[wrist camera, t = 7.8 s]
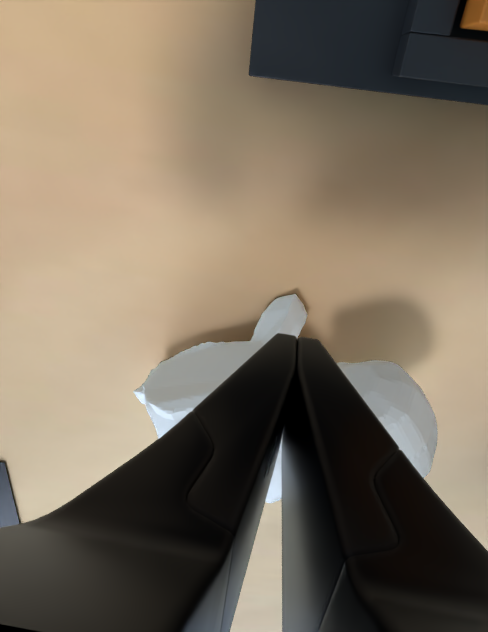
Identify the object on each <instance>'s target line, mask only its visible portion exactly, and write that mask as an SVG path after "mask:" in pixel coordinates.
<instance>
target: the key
mask: <svg viewBox="0 0 488 632" xmlns="http://www.w3.org/2000/svg"><path fill="white" fill-rule="evenodd" d="M460 28H461V29H470V30H479V31H488V0H467V2H466V5H465V9H464V12H463V15H462V19H461V22H460Z"/></svg>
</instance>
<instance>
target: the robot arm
mask: <svg viewBox="0 0 488 632" xmlns="http://www.w3.org/2000/svg"><path fill="white" fill-rule="evenodd" d="M282 434H283V435H282ZM281 439H282V451H281V470H282V632H488V551H487V550H486V549H485V548H484V547H483V546H482V545H481V543H480V542H479V541H478V540H477V539H476V538H475V537H474V536H473V535H472V534H471V533H470V531H469V530H468V529H467V528H466V527H465V526H464V525H463V524H462V523H461V522H460V521H459V519H458V518H457V517H456V516H455V515H454V514H453V513H452V511H451V510H450V509H449V508H448V507H447V506H446V505H445V503H444V502H443V501H442V500H441V499H440V498H439V497H438V496H437V494H436V493H435V492H434V491H433V490H432V488H431V487H430V486H429V485H428V483H427V482H426V481H425V480H424V478H423V477H422V476H421V475H420V473H419V472H418V471H417V470H416V468H415V467H414V466H413V465H412V463H411V462H410V461H409V459H408V458H407V457H406V455H405V454H404V453H403V451H402V450H399V446H398V445H397V444H396V442H395V441H394V440H393V438H392V437H391V436H390V434H389V433H388V432H387V430H386V429H385V428H384V426H383V425H382V424H381V422H380V421H379V420H378V418H377V417H376V416H375V414H374V413H373V412H372V410H371V409H370V408H369V406H368V405H367V404H366V402H365V401H364V400H363V398H362V397H361V396H360V394H359V393H358V392H357V390H356V389H355V388H354V386H353V385H352V384H351V382H350V381H349V380H348V378H347V377H346V376H345V374H344V373H343V372H342V370H341V369H340V368H339V366H338V365H337V364H336V362H335V361H334V360H333V358H332V357H331V356H330V354H329V353H328V352H327V350H326V349H325V348H324V346H323V345H322V344H321V342H320V341H319V340H317V339H312V338H306V337H299V338H298V339H297V337H296V336H294V335H288V334H282V333H277V334H276V335H275V336H273V337H272V338H271V339H270V340H269V341H268V342H267V343H266V344H265V345H264V346H262V347H261V348H260V349H259V350H258V351H257V352H256V353H255V354H254V355H252V356H251V357H250V358H249V359H248V360H247V361H246V362H245V363H244V364H243V365H241V366H240V367H239V368H238V369H237V370H236V371H235V372H234V373H233V374H232V375H230V376H229V377H228V378H227V379H226V380H225V381H224V382H223V383H222V384H220V385H219V386H218V387H217V388H216V389H215V390H214V391H213V392H212V393H211V394H209V395H208V396H207V397H206V398H205V399H204V400H203V401H202V402H201V403H199V404H198V405H197V406H196V407H195V408H194V409H193V411H191V412H189V413H188V414H187V415H186V416H185V417H184V418H183V419H182V420H181V421H179V422H178V423H177V424H176V425H175V426H174V427H172V428H171V429H170V430H169V431H168V432H166V433H165V434H164V435H163V436H162V437H160V438H159V439H158V440H156V441H155V442H154V443H152V444H151V445H150V446H148V447H147V448H146V449H144V450H143V451H142V452H140V453H139V454H137V455H136V456H135V457H133V458H132V459H130V460H129V461H128V462H126V463H125V464H123V465H122V466H120V467H119V468H117V469H116V470H115V471H113V472H112V473H110V474H109V475H107V476H106V477H104V478H103V479H102V480H100V481H99V482H97V483H96V484H94V485H93V486H91V487H90V488H89V489H87V490H86V491H84V492H83V493H81V494H80V495H78V496H77V497H76V498H74V499H73V500H71V501H70V502H68V503H66V504H65V505H63V506H62V507H60V508H58V509H56V510H55V511H53V512H51V513H49V514H47V515H45V516H42V517H40V518H38V519H35V520H32V521H29V522H26V523H22V524H18V525H12V526H6V527H0V632H230V628H231V624H232V621H233V617H234V614H235V610H236V606H237V603H238V599H239V595H240V592H241V588H242V584H243V581H244V577H245V573H246V570H247V566H248V562H249V559H250V555H251V551H252V548H253V544H254V540H255V537H256V533H257V529H258V526H259V522H260V518H261V515H262V511H263V508H264V504H265V500H266V497H267V493H268V489H269V486H270V482H271V478H272V475H273V471H274V467H275V464H276V460H277V456H278V452H279V448H280V444H281Z"/></svg>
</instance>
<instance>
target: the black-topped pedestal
mask: <svg viewBox="0 0 488 632" xmlns="http://www.w3.org/2000/svg"><path fill="white" fill-rule="evenodd" d="M18 524H19V520H18V516H17V512H16V507H15V503H14V499H13V495H12V491H11V487H10V483H9V479H8V475H7V471H6V467H5V463H2V462H0V527H6V526H12V525H18Z"/></svg>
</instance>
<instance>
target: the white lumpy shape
mask: <svg viewBox="0 0 488 632" xmlns="http://www.w3.org/2000/svg"><path fill="white" fill-rule="evenodd" d="M307 315H308V314H307V312H306V311H305V308H304V305H303V303H302V302H301V301H300V299H299V298H298V296H297V295H296V294H292V295H287V296H283V297H279V298H276V299H275V300H274V301H273V302H272V303H271V304H270V305H269V306H268V307H267V309H266V310H265V311H264V312H263V313H262V314H261V318H260V320H259V321H258V323H257V326H256V328H255V330H254V335H253V337H252V339H251V340H250V341H241V342H237V341H234V342H228V343H225V342H223V341H222V342H219V343H214V342H209V341H208V342H206V343H205V344H204V343H201V344H199V345H198V346H193V347H191V348H190V349H185V351H181V352H180V353H179V354H177V355H174V357H170V359H169V360H165V361H161V362H160V364H159V365H158V366H157V367H156V368H155V369H152V370H151V371H150V374H149V375H148V378H147V379H146V381H145V382H144V383H143V384H142V386H140V387H139V388H137V389H136V390H135V391H133V392H134V393H135V395H136V396H137V398H138V399H139V401H140V402H141V403H142V404H146V409H147V412H148V414H149V415H150V417H151V420H152V421H153V424H154V426H155V428H156V431H157V435H158V439H159V438H160V437H162V436H163V435H164V434H165V433H166V432H168V431H169V430H170V429H171V428H172V427H174V426H175V425H176V424H177V423H178V422H179V421H181V420H182V419H183V418H184V417H185V416H186V415H187V414H188V413H189V412H191V411H193V409H194V408H195V407H196V406H197V405H198V404H199V403H201V402H202V401H203V400H204V399H205V398H206V397H207V396H208V395H209V394H211V393H212V392H213V391H214V390H215V389H216V388H217V387H218V386H219V385H220V384H222V383H223V382H224V381H225V380H226V379H227V378H228V377H229V376H230V375H232V374H233V373H234V372H235V371H236V370H237V369H238V368H239V367H240V366H241V365H243V364H244V363H245V362H246V361H247V360H248V359H249V358H250V357H251V356H252V355H254V354H255V353H256V352H257V351H258V350H259V349H260V348H261V347H262V346H264V345H265V344H266V343H267V342H268V341H269V340H270V339H271V338H272V337H273V336H275V335H276V334H277V333H282V334H288V335H294V336H296V337H297V338H298V335H299V334H300V331H301V329H302V327H303V325H304V324H305V322H306V318H307ZM336 364H337V365H338V366H339V368H340V369H341V370H342V372H343V373H344V374H345V376H346V377H347V378H348V380H349V381H350V382H351V384H352V385H353V386H354V388H355V389H356V390H357V392H358V393H359V394H360V396H361V397H362V398H363V400H364V401H365V402H366V404H367V405H368V406H369V408H370V409H371V410H372V412H373V413H374V414H375V416H376V417H377V418H378V420H379V421H380V422H381V424H382V425H383V426H384V428H385V429H386V430H387V432H388V433H389V434H390V436H391V437H392V438H393V440H394V441H395V442H396V444H397V445H398V446H399V450H402V451H403V453H404V454H405V455H406V457H407V458H408V459H409V461H410V462H411V463H412V465H413V466H414V467H415V468H416V470H417V471H418V472H419V473H420V475H421V476H422V477H423V478H424V477H425V476H426V475H427V474H428V473H429V472H430V469H431V465H432V462H433V458H434V454H435V450H436V446H437V423H436V418H435V415H434V412H433V410H432V408H431V405H430V403H429V401H428V400H427V398H426V396H425V394H424V393H423V391H422V389H421V388H420V386H419V385H418V384H417V383H416V382H415V381H414V380H413V379H412V378H411V377H410V376H409V375H408V374H407V373H406V372H405V371H404V370H403V369H402V368H401V367H400V366H399V365H398V364H396V363H393V362H389V361H382V360H371V361H365V362H359V363H346V362H339V363H336ZM282 435H283V434H282ZM281 451H282V439H281V444H280V448H279V452H278V456H277V460H276V464H275V467H274V471H273V475H272V478H271V482H270V486H269V489H268V493H267V497H266V500H265V502H268V503H273V502H275V501H279V500H280V499H281V498H282V470H281Z"/></svg>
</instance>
